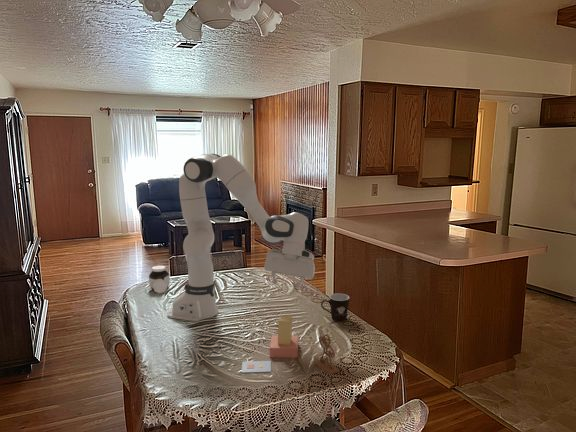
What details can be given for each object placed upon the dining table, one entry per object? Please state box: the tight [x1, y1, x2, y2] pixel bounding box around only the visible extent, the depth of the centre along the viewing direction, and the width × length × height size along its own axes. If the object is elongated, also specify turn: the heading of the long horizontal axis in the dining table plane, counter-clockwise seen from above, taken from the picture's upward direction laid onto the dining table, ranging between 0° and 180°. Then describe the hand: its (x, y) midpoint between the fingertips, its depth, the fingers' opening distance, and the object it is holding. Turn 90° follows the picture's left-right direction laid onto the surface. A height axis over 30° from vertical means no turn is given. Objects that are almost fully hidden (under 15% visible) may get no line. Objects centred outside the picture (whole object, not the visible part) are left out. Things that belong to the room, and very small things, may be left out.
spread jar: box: [148, 265, 171, 294], centre depth 225 cm, size 12×11×12 cm
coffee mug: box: [320, 293, 350, 323], centre depth 189 cm, size 12×9×10 cm
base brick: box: [269, 334, 299, 358], centre depth 161 cm, size 10×10×4 cm
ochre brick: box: [277, 315, 293, 345], centre depth 159 cm, size 4×4×9 cm
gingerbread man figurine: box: [314, 334, 340, 376], centre depth 148 cm, size 9×4×12 cm, turn 33°
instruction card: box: [240, 360, 272, 374], centre depth 149 cm, size 10×7×1 cm
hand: (285, 285), depth 171 cm, fingers open, 8 cm apart
